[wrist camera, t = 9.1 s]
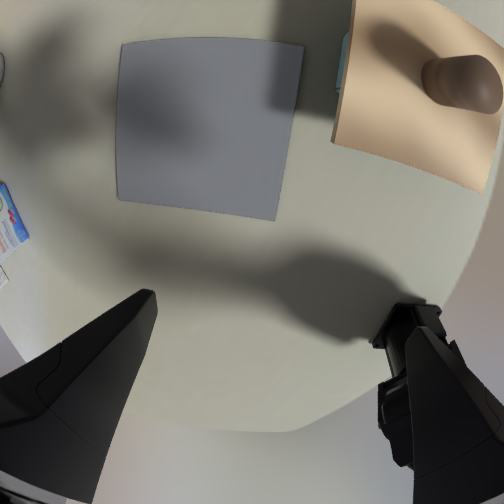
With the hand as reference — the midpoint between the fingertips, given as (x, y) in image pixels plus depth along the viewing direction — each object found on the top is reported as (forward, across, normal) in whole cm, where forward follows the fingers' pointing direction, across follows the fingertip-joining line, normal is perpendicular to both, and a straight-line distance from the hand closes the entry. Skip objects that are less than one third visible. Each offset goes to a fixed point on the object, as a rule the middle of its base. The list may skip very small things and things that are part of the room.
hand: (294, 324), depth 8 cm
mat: (+13, +7, -4) cm, 15 cm away
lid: (+9, -7, -10) cm, 15 cm away
